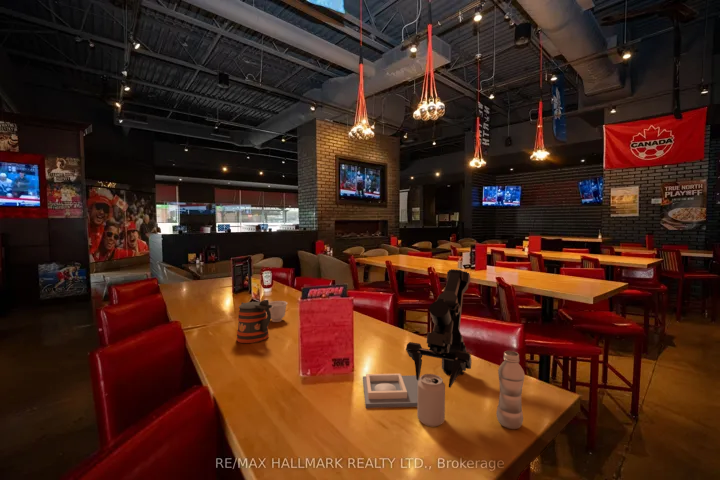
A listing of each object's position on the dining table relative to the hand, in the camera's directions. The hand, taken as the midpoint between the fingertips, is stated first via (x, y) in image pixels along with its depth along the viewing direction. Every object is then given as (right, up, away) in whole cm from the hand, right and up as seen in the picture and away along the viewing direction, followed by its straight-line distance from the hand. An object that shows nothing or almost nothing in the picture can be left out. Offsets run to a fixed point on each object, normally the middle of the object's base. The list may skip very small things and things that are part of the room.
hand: (433, 383), depth 90 cm
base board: (-10, -9, +13) cm, 19 cm away
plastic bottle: (+20, -10, -3) cm, 23 cm away
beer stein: (-70, -7, +61) cm, 93 cm away
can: (-1, -10, -1) cm, 10 cm away
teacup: (-69, -5, +88) cm, 112 cm away
